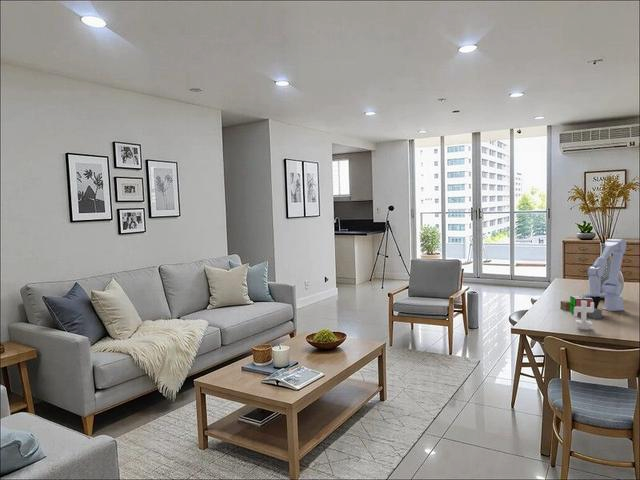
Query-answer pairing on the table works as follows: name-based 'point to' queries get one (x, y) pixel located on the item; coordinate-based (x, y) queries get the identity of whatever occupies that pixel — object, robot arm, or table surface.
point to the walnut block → (565, 305)
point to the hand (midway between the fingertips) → (594, 308)
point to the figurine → (584, 315)
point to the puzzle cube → (579, 302)
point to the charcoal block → (595, 313)
